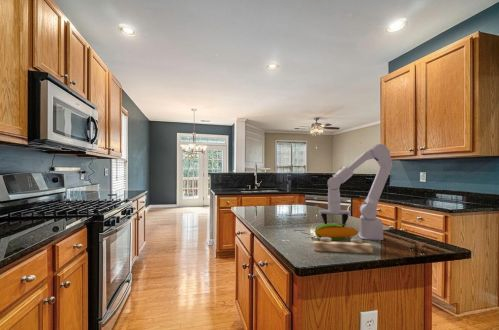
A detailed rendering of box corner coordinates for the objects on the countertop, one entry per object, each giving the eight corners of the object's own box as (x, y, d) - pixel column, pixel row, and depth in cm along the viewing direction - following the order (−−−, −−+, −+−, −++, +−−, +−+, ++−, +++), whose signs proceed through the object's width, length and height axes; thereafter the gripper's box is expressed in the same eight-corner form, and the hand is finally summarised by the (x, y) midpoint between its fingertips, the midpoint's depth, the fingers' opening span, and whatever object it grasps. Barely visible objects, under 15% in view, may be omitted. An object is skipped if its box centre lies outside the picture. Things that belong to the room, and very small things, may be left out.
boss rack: (368, 247, 103) (368, 238, 103) (373, 253, 96) (372, 243, 96) (313, 245, 107) (313, 236, 107) (314, 250, 100) (314, 240, 101)
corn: (313, 221, 120) (354, 220, 119) (313, 237, 120) (354, 236, 120) (317, 226, 112) (361, 225, 112) (317, 242, 112) (361, 242, 112)
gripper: (348, 200, 125) (348, 228, 125) (318, 200, 128) (318, 227, 128) (350, 202, 118) (351, 231, 118) (319, 202, 121) (319, 230, 121)
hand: (334, 229), depth 122 cm, fingers open, 7 cm apart
